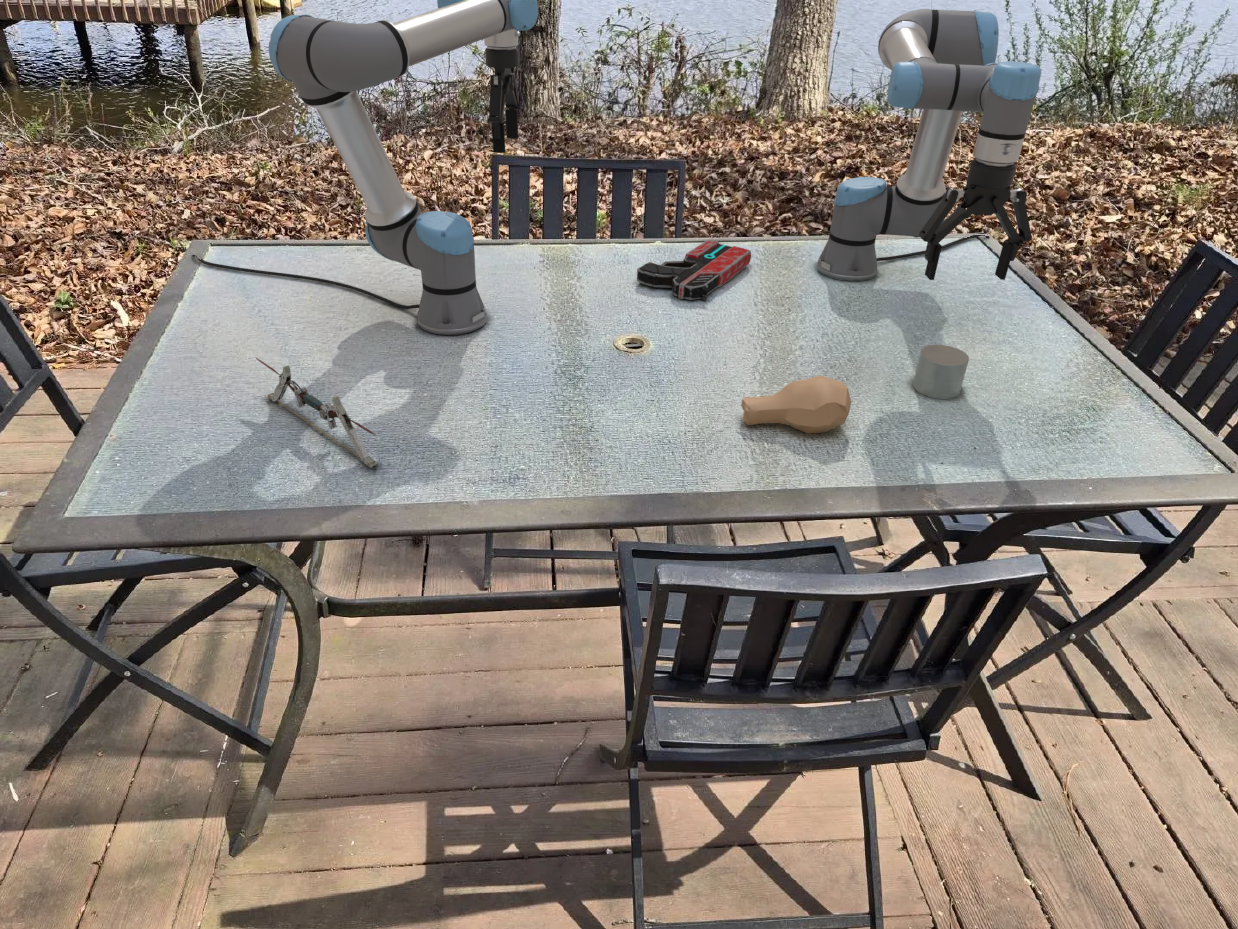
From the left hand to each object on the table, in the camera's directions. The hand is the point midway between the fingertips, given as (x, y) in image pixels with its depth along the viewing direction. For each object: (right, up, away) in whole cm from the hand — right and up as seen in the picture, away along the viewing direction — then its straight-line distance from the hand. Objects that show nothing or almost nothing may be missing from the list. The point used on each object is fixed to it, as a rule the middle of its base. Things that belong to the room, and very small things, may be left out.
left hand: (506, 144), depth 209 cm
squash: (+59, -69, -45) cm, 102 cm away
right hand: (+91, -41, -45) cm, 110 cm away
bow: (-27, -70, -51) cm, 91 cm away
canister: (+91, -61, -32) cm, 114 cm away
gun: (+46, -28, +15) cm, 56 cm away
